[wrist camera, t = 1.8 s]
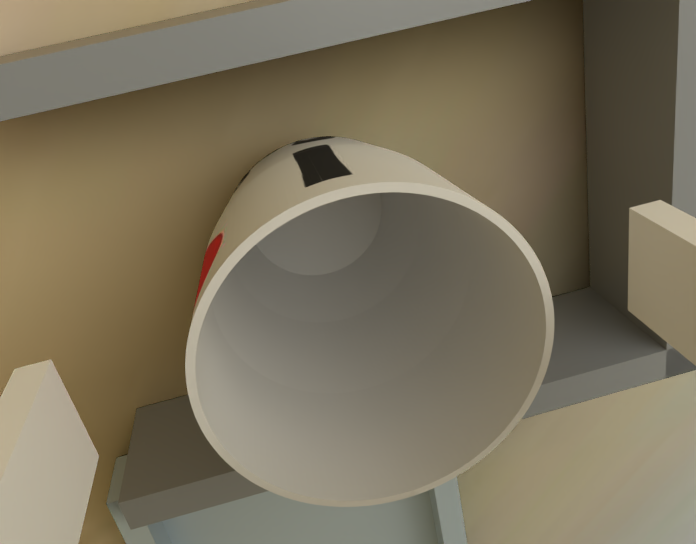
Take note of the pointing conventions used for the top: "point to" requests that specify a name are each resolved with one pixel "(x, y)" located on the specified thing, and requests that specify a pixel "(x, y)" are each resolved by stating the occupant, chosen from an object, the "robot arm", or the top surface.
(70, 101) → the holder
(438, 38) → the top surface
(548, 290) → the cup
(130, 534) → the tray
